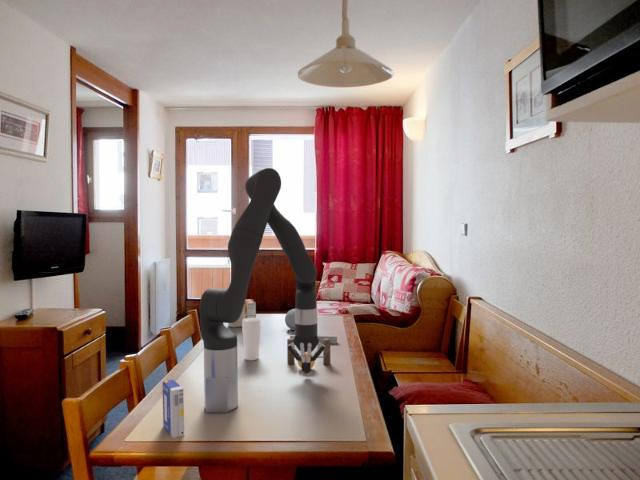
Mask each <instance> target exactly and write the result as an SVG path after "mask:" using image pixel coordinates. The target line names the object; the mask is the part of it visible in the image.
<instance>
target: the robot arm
mask: <svg viewBox="0 0 640 480" xmlns="http://www.w3.org/2000/svg"><path fill="white" fill-rule="evenodd" d="M281 188H282V179H281V176H280V173H279V172H278V171H277V170H276V169H274V168H273V167H264V168H262V169H260V170H258V171H257V172H255V173H254V174H252V175H251V176H250V177H248V178H247V179H246V181H245V185H244V189H245V192H246V195H247V196H248V198H249V199H250V201H249V202H248V205H247V206H246V208H245V209H244V211H243V212H242V214H241V215H240V216H239V218H238V219H237V221H236V223H235V224H234V227H233V229H232V231H231V234H230V238H229V240H228V243H227V254H228V258H229V261H230V264H231V268H232V274H231V275H232V276H231V279H230V283H229V285H228V288H217V287H216V288H214V287H213V288H212V287H211V288H207V289H206V290H204V291H203V293H202V295H201V296H200V301H199V323H200V335H201V339H202V341H203V378H204V379H203V380H204V381H203V385H204V387H203V388H204V390H203V391H204V392H203V393H204V409H205V412H206V413H217V414H218V413H220V414H222V413H223V414H228V413H229V412H230V411H233V410H234V409H236V408H237V407H238V406H239V385H238V383H239V379H238V378H239V377H238V376H239V375H238V374H239V371H238V369H239V368H238V364H239V363H238V362H239V361H238V360H239V359H238V336H237V334H236V333H235V332H233V331H231V330H230V329H228V327H226V325H224V323H225V324H226V323H227V324H228V323H234V322H236V321H237V320H238V319H239V317H240V315H241V313H242V310H243V307H244V303H245V300H247V299H246V298H247V293H248V288H249V284H250V279H251V276H252V273H253V272H252V271H253V269H254V265H255V263H256V259H257V256H258V253H259V251H260V248H261V244H262V241H263V238H264V237H263V236H264V234H265V231H266V227H267V225H268V226H269V228H270V229H271V230H272V233H273V234H274V236H275V238H276V239H277V241H278V244H279V245H280V247H281V250H282V251H283V253H284V255H285V256H286V258H287V260H288V262H289V263H290V267H291V269H292V270H293V273H294V276H295V277H294V278H295V297H294V298H295V306H294V307H295V308H294V309H295V330H294V335H295V338H294V340H293V342H292V343H291V344H289V345H288V347H286V348H288V350H289V351H290V352H291V354H292V355H293V356H294V357H295V360H296V361H297V362H298V361H301V362H302V368H301V371H302V372H303V374H307V375H308V374H309V373H310V372H311V369H312V368H311V361H315V362H316V360H317V359H318V358H319V357H318V356H319V355H320V354H321V353H322V351H323V350H324V349H325V345H324V344H323V343H320V342H319V339H318V335H319V334H318V319H319V318H318V307H317V303H318V302H317V301H318V299H317V291H316V282H317V280H316V278H317V275H318V270H317V268H316V266H315V264H314V262H313V261H312V258H311V257H310V255H309V253H308V251H307V250H306V247H305V244H304V242H303V239H302V238H301V235H300V233H299V232H298V230H297V229H296V226H294V225H293V224H292V222H290V220H288V218H286V217H285V216H284V215H283V214H282V213H281V212H280V211H279V210H278V209H277V207H276V205H275V202H276V200H277V197H278V196H279V193H280V191H281ZM316 346H318V347H317V349H318V350H317V351H316V353H315V354H314V355H313V356H311V352H312V351H313V350H314V349H315V347H316ZM295 347H297V348H298V350H299V351H301V356H300V355H299V354H298V352H297V351H296V350H295ZM306 352H307V361H306Z"/></svg>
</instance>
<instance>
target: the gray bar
mask: <svg viewBox="0 0 640 480" xmlns="http://www.w3.org/2000/svg"><path fill="white" fill-rule="evenodd" d="M289 338H293V339H294V338H295V334H290V336H289ZM318 339H319V342H320V343H321V344H323V339H330V345H331V344H334V345H335V344H338V335H334V334H332V335H331V334H327V335H325V334H322V335H321V334H318Z"/></svg>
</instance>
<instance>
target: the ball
mask: <svg viewBox="0 0 640 480" xmlns="http://www.w3.org/2000/svg"><path fill="white" fill-rule="evenodd" d="M300 356H301V355H300ZM311 356H313V355H312V354H311ZM306 361H307V352H306ZM315 362H316V360H315V361H311V369H312V368H313V367H314V366H315ZM297 364H298V367H299V368H300V369H302V362H301V361H297Z"/></svg>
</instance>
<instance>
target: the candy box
mask: <svg viewBox="0 0 640 480" xmlns="http://www.w3.org/2000/svg"><path fill="white" fill-rule="evenodd" d="M244 305H245V318H257V303H256V301H254V299H252V298H251V299H250V298H249V299H245V303H244Z"/></svg>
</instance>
